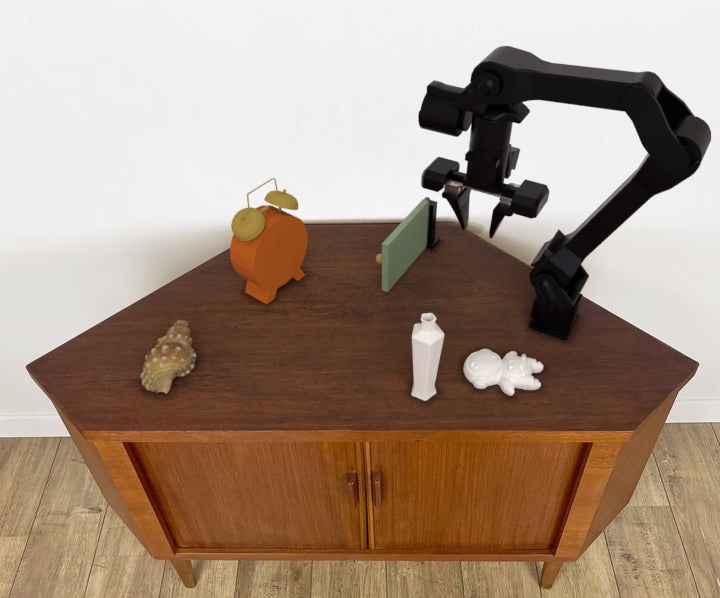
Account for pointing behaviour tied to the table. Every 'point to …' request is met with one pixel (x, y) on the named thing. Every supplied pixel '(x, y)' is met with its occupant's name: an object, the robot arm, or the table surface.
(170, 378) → the seashell
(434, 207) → the door post
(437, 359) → the perfume bottle
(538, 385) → the astronaut figurine
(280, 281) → the alarm clock
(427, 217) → the green flat slab
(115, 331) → the table surface
